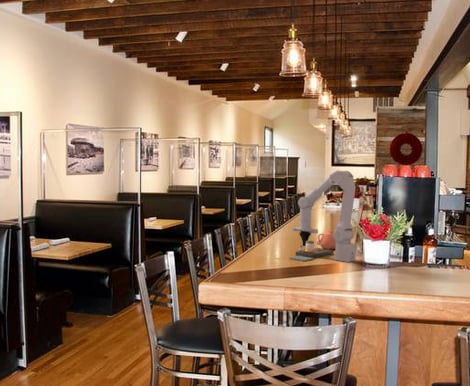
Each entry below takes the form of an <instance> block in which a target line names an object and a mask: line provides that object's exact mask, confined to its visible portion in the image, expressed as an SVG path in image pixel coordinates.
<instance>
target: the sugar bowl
mask: <svg viewBox="0 0 470 386" xmlns="http://www.w3.org/2000/svg"><path fill="white" fill-rule="evenodd" d="M333 233H334V230H328V232H324V233H318V235H317V240H318V241H316V245H317V246H320V248H322V249H328V250H334V249H336V242H335V241H336V240H335V239H334V237H333ZM320 236H321V237H320Z"/></svg>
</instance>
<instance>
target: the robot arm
mask: <svg viewBox="0 0 470 386" xmlns="http://www.w3.org/2000/svg"><path fill="white" fill-rule="evenodd" d="M354 177H355V176H354V175H353V174H352V172H351V171H349V170H334V171H333V172H332V173H330V175H329V177H327V178H326V179H325V181H323V182H322V183H321V184H320V185H319V186H318V187H312V188H311V189H310V191H309V192H308V193H306V194H305V195H304V196H301V197H300V198H299V199H298V201H297V204H298V207H299V209H300V210H299V215H300V216H299V226H294V227H292V231H293V232H298V233H299V236H300V238H301V240H302V244H303V247H306V241H309V238H310V237H311V235H312V234H319V231H318V229H316V228H312V227H311V225H312V211H313V210H312V209H313V207H314V205H315V203H316V202H317V201H319V199H321V198H322V196H323V193H324V192H326V191H327V190H328V189H329V188H331V187H332V186H334V185H337V186H339V187H340V189H342V191H343V192H342V193H343V194H342V199H341V200H342V202H341V207H340V215H339V222H338V223H337V225H336V226H335V230H333V237H334V239H335V240H336V241H335V242H336V249H335V250H334V255H335V256H334V257H332V258H331V260H334V261H339V262H345V263H350V262H354V261H357V259H356V257H357V255H356V254H357V253H356V252H357V251H356V250H357V247H356V244H355V243H352V242H351V241H352V239H353V238H354V230H353V229H354V227H353V224H352V223H351V222H352V216H353V210H354V209H353V208H354V201H355V193H356V184H355V181H354Z"/></svg>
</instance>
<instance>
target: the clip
mask: <svg viewBox="0 0 470 386" xmlns="http://www.w3.org/2000/svg"><path fill="white" fill-rule="evenodd" d="M298 247H299V249H298V251H299V252H302V250H303V248H304V246H303V243H300V245H298Z"/></svg>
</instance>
